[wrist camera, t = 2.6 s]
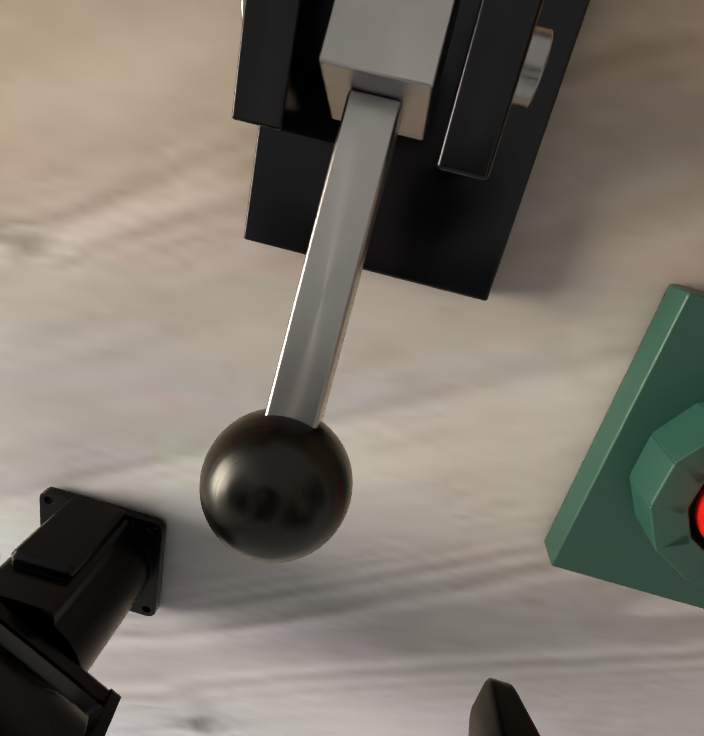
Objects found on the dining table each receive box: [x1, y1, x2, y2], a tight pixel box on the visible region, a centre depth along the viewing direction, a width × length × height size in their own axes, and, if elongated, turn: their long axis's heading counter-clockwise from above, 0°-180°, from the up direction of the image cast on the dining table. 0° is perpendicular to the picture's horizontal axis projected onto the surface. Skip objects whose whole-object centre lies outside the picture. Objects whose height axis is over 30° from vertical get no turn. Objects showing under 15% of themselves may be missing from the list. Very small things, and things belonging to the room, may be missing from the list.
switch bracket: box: [232, 0, 590, 301], centre depth 13 cm, size 12×9×9 cm
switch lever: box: [199, 0, 461, 563], centre depth 10 cm, size 12×3×3 cm, turn 168°
